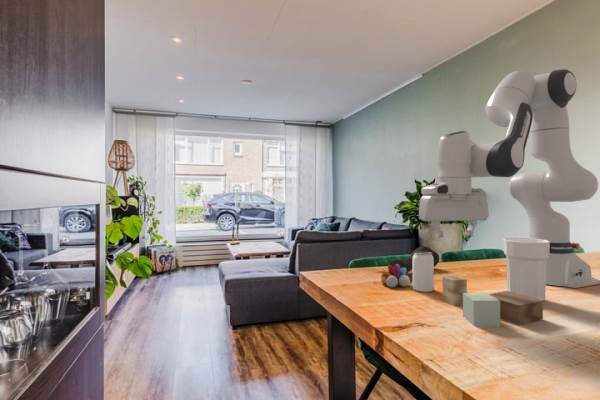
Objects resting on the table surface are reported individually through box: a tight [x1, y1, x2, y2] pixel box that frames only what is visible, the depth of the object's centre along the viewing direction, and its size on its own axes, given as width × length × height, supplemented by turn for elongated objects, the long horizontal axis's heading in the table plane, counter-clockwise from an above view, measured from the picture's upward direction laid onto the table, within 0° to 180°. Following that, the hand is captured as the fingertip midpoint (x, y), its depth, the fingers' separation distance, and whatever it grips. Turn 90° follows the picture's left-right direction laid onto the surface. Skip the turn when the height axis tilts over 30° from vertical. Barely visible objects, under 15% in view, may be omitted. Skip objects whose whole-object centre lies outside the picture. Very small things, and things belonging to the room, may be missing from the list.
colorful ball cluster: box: [380, 264, 411, 288], centre depth 113 cm, size 8×10×7 cm
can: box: [412, 251, 435, 293], centre depth 107 cm, size 6×6×12 cm
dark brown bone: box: [387, 245, 440, 276], centre depth 132 cm, size 11×10×28 cm
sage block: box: [462, 292, 501, 327], centre depth 80 cm, size 6×6×6 cm
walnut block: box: [488, 290, 544, 327], centre depth 83 cm, size 9×9×5 cm
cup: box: [503, 237, 550, 304], centre depth 97 cm, size 11×11×17 cm
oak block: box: [442, 275, 468, 306], centre depth 95 cm, size 4×4×7 cm
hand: (454, 236), depth 94 cm, fingers open, 8 cm apart
